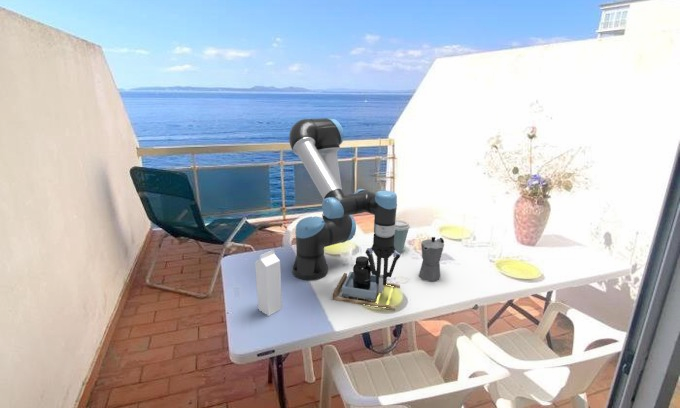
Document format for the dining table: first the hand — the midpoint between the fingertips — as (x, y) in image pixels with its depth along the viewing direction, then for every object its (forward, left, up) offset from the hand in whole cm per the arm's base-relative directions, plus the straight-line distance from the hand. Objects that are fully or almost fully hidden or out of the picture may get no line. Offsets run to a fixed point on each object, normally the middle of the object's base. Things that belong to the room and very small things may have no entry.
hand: (380, 291), depth 131 cm
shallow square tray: (-7, 0, -2) cm, 7 cm away
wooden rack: (-5, 0, -2) cm, 5 cm away
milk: (-36, -21, -2) cm, 41 cm away
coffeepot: (+18, +21, -2) cm, 28 cm away
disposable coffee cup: (+1, +42, -2) cm, 43 cm away
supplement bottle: (-7, 0, 0) cm, 7 cm away
